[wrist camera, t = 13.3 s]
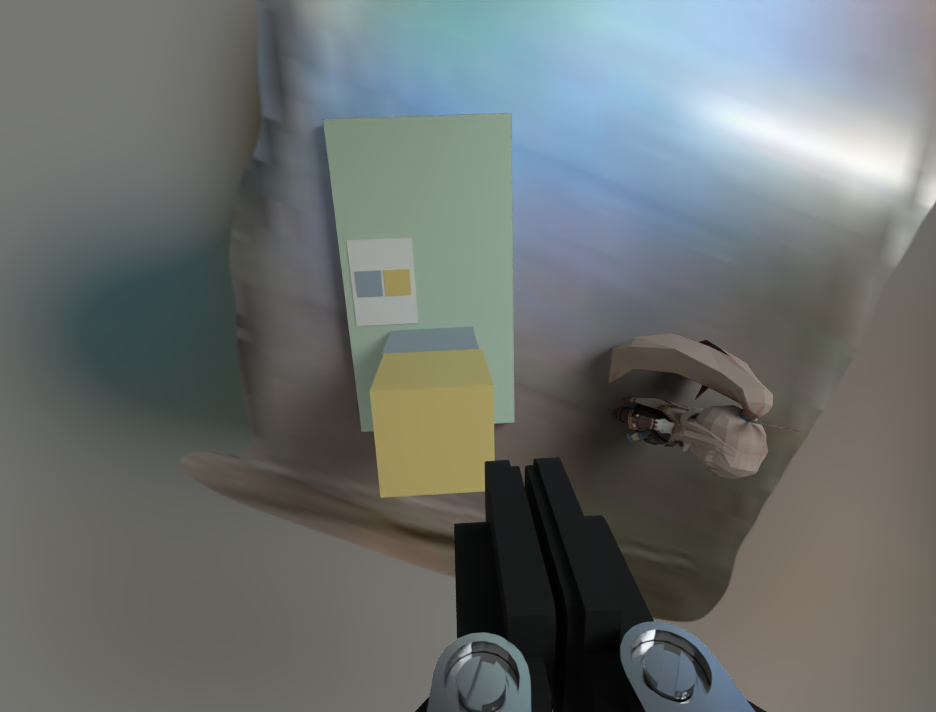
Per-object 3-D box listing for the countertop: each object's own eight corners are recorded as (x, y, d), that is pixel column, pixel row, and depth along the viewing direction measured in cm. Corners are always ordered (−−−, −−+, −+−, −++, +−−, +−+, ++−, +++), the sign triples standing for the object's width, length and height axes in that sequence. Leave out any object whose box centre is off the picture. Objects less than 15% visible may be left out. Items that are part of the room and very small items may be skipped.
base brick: (390, 330, 34) (380, 356, 28) (472, 326, 34) (479, 350, 28) (397, 406, 36) (389, 444, 30) (475, 401, 36) (482, 438, 30)
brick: (383, 353, 28) (369, 391, 22) (482, 348, 28) (493, 385, 23) (391, 441, 30) (380, 497, 24) (484, 436, 30) (494, 490, 24)
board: (327, 122, 30) (322, 118, 29) (508, 116, 31) (511, 112, 30) (363, 424, 37) (361, 432, 36) (512, 415, 38) (514, 423, 36)
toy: (577, 430, 38) (684, 483, 23) (595, 327, 38) (715, 314, 23) (678, 448, 39) (845, 509, 24) (697, 348, 39) (873, 347, 24)
